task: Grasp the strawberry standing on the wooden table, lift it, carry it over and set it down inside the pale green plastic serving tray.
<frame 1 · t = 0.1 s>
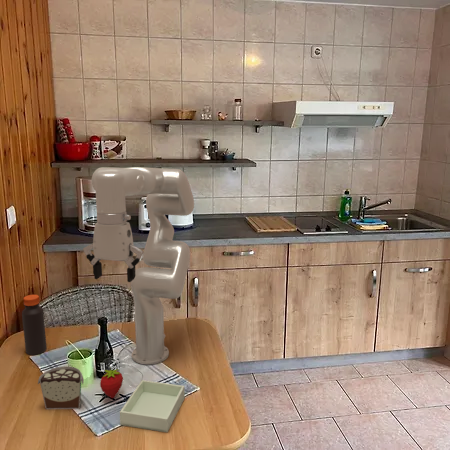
hand: (114, 279, 123), 37 cm above the table, tool pointing down, fingers open, 9 cm apart
food container: (66, 402, 129), on the table
bottle: (36, 351, 157), on the table
strawberry: (112, 398, 131), on the table
serving tray: (154, 410, 125), on the table
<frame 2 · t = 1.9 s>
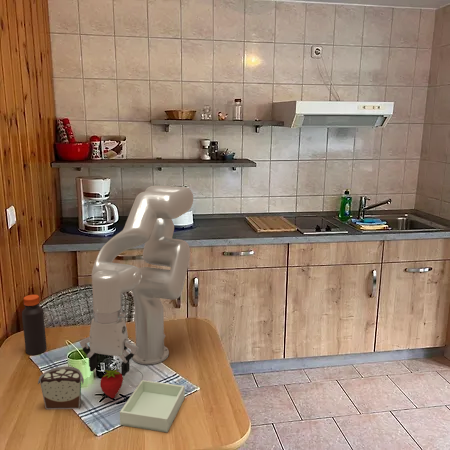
hand: (109, 371, 128), 9 cm above the table, tool pointing down, fingers open, 9 cm apart
nothing on the table moved.
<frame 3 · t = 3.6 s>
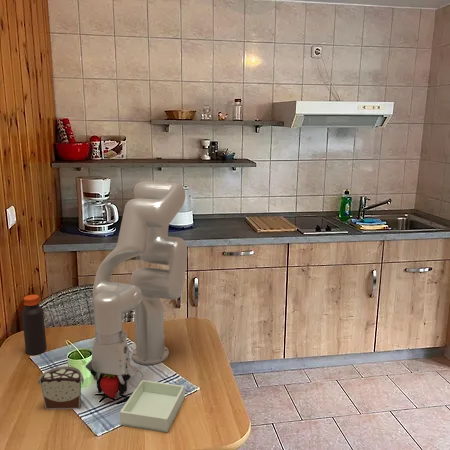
hand: (112, 391, 130), 2 cm above the table, tool pointing down, fingers closed on strawberry, 6 cm apart
strawberry: (112, 398, 131), on the table, touching gripper
everything else where it was.
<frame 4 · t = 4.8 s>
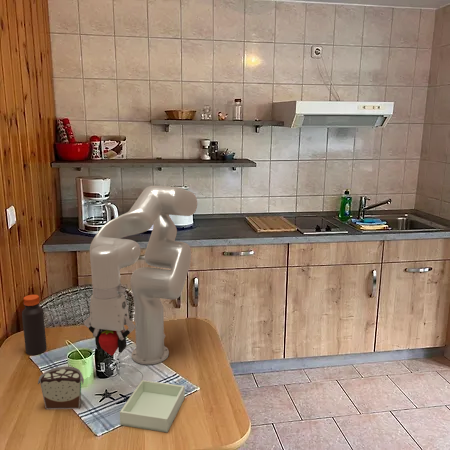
hand: (111, 348, 128), 16 cm above the table, tool pointing down, fingers closed on strawberry, 6 cm apart
strawberry: (111, 355, 129), point 13 cm above the table, touching gripper
everything else where it was.
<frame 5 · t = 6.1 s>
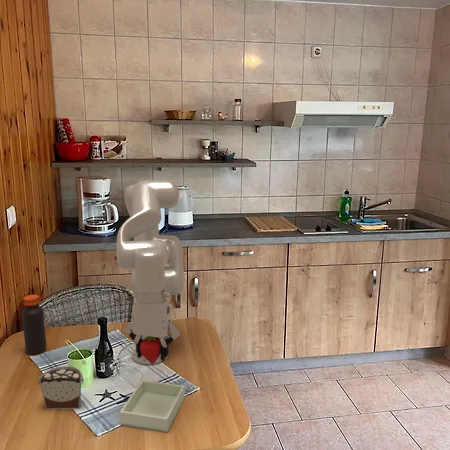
hand: (152, 356, 121), 17 cm above the table, tool pointing down, fingers closed on strawberry, 6 cm apart
strawberry: (152, 364, 122), point 15 cm above the table, touching gripper
everything else where it was.
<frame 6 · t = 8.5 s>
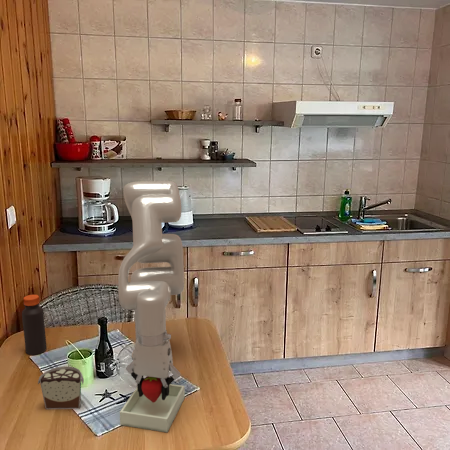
hand: (153, 394, 124), 5 cm above the table, tool pointing down, fingers closed on strawberry, 6 cm apart
strawberry: (153, 402, 125), point 3 cm above the table, touching gripper
everything else where it was.
when the fingers open (5 cm above the table, at t = 9.0 s): strawberry drops 2 cm, resting on serving tray.
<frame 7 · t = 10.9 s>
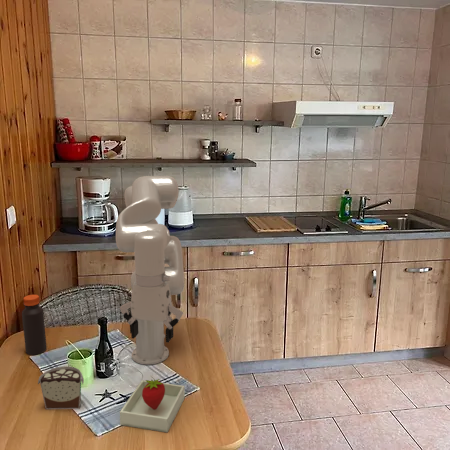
hand: (151, 338, 120), 22 cm above the table, tool pointing down, fingers open, 9 cm apart
strawberry: (154, 409, 125), resting on serving tray
everything else where it was.
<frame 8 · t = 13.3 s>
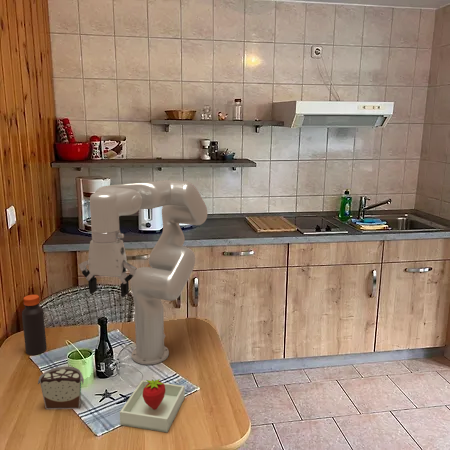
hand: (108, 293, 129), 30 cm above the table, tool pointing down, fingers open, 9 cm apart
nothing on the table moved.
at the end: strawberry inside the target area on the serving tray (0.2 cm from its centre), point 0.4 cm above the serving tray's base; the gripper is holding nothing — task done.
